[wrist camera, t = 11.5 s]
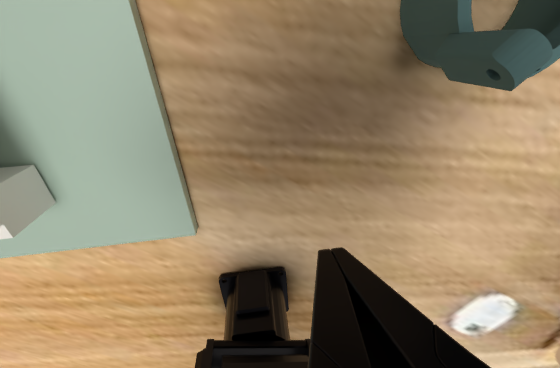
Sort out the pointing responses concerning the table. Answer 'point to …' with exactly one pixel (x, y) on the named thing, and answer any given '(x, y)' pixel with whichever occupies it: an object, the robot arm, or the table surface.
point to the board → (88, 126)
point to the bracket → (483, 41)
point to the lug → (21, 199)
